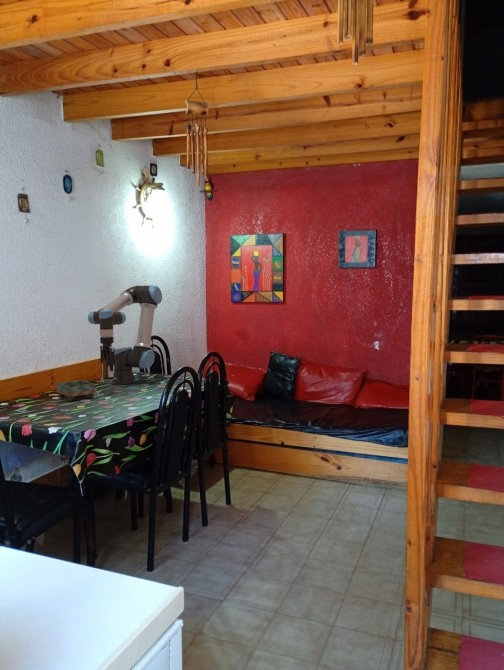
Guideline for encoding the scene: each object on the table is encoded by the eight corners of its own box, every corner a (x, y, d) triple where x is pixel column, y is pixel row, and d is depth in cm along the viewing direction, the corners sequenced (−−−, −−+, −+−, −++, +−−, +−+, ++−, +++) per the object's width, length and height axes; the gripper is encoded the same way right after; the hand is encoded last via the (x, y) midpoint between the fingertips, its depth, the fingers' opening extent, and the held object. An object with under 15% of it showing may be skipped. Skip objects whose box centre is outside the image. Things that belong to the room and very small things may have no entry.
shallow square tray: (82, 393, 309) (81, 380, 309) (95, 398, 297) (95, 384, 296) (56, 397, 299) (56, 383, 299) (69, 402, 287) (68, 387, 286)
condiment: (111, 377, 312) (111, 356, 311) (117, 379, 306) (116, 358, 304) (99, 378, 308) (99, 358, 307) (105, 380, 301) (104, 359, 300)
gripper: (93, 335, 309) (94, 374, 312) (108, 338, 295) (110, 379, 298) (105, 334, 314) (106, 373, 317) (120, 337, 300) (122, 377, 303)
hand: (108, 376), depth 307 cm, fingers closed on condiment, 6 cm apart
